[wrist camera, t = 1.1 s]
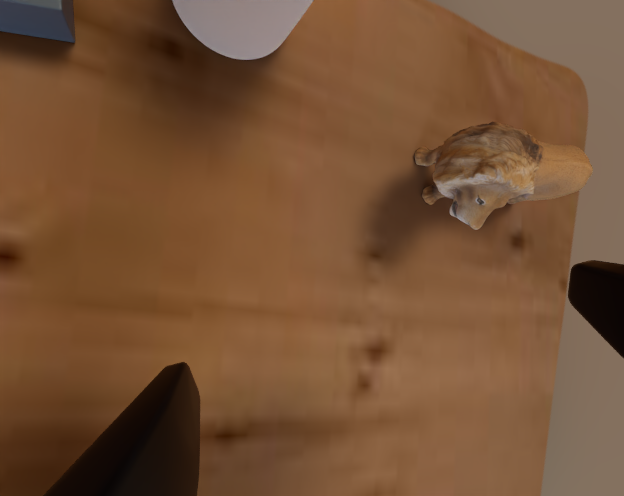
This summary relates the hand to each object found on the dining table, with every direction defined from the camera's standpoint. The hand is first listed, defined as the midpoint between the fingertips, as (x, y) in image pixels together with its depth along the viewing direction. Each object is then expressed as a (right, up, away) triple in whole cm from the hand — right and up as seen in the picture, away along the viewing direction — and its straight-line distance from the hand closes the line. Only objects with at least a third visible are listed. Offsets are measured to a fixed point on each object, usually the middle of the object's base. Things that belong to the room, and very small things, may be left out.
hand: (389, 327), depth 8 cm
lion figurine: (+8, +6, +18) cm, 21 cm away
